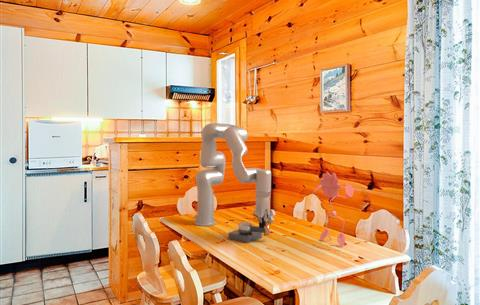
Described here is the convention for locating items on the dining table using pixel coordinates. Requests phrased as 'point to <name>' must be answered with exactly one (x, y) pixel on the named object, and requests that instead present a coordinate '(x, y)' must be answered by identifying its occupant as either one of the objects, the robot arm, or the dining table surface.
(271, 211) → the wrench
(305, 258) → the dining table surface
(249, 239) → the base
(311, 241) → the dining table surface
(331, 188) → the figurine
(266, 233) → the ball-ended lever handle
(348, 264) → the dining table surface
